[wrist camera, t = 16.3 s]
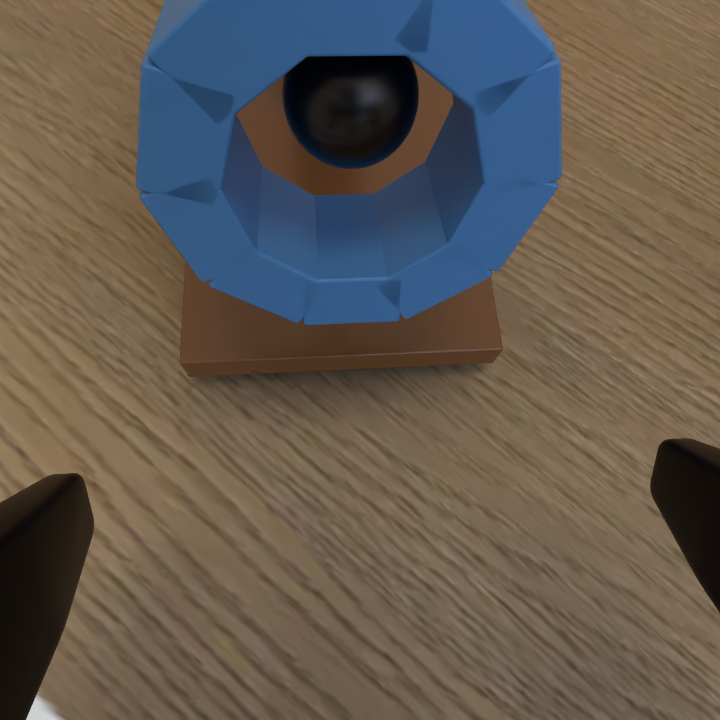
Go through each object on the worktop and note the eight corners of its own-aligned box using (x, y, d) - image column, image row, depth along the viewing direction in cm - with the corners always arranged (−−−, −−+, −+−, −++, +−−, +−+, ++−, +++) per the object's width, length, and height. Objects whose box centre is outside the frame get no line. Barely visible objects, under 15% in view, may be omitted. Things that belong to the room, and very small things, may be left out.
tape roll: (512, 317, 13) (646, -59, 7) (185, 332, 12) (49, -60, 7) (484, 234, 15) (573, -117, 9) (198, 243, 14) (102, -122, 9)
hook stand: (493, 363, 18) (702, 80, 8) (188, 377, 18) (-14, 88, 7) (439, 43, 24) (521, -369, 14) (205, 44, 23) (104, -389, 13)
